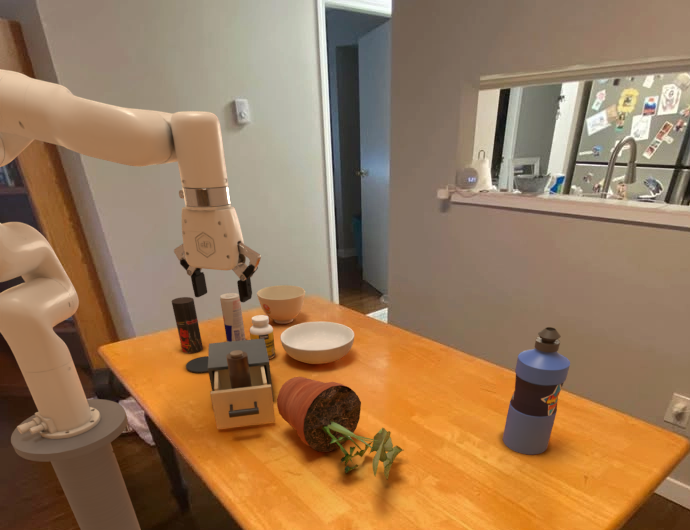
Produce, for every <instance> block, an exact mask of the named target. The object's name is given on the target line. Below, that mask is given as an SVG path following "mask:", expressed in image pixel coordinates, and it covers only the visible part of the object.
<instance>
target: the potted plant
mask: <svg viewBox="0 0 690 530" xmlns="http://www.w3.org/2000/svg"><path fill="white" fill-rule="evenodd" d="M276 407H277V410H278V414H279V415H280V417H281V418H282V419H283V420H284V421H285V422H286V423H287V424H288V425H290V426H291V427H292V428H293V429H294V430H295V431H296V434H297V436H298V438H299V439H300V441H301V442H302V443H303V444H305V445H306V446H308V447H309V448H311V449H313V450H314V451H315V452H319V453H329V452H333V451H335V450H337V449H339V448H340V450H341V452H342V454H344V456H343V457H341V459H340V464H341V463H344V466H345V467H344V473H345V474H347V473H349V472H351V471H352V470H354V469H356V468H357V467H359V465H358V463H357V464H355V465H354V466H349V465H347V464H348V463H349V461H350V462H351V463H353V460H352V459H353V458H355V457H357V456H359V457H360V458H362V457H364V455H365V453H366V452H367V451H368V449H369V448H370V451H369V453H368V455H370V454H371V453H374V452H375V454H374V456H373V458H372V462H371V464H372V465H371V466H372V472H373V476H374V477H376V476H377V472H378V468H379V463H380V462H381V463H383V469H384V470H383V474H384V476H385V478H386V480H387V481H389V475H390V471H391V469H392V466H393V464H394V461H395V459H396V458H397V456H398V455H399V454H401V452H404V449H403V448H401V447H400V446H399V445H395V446H394V443H393V441H392V437H391V431H389V430H387V429H386V428H384V427H381V429H379V430H378V431H377V433H376V434H375V435H374V436H373V438H369V437H365V436H361V435H357V434H356V433H354V432H355V431H356V429H357V427H358V425H359V421H360V417H361V411H362V410H361V408H362V401H361V400H360V397H359V395H358V394H357V393H356V391H355V390H354V389H352V388H351V387H349V386H347V385H345V384H342V383H339V382H336V381H330V382H327V381H326V382H323V381H319V380H315V379H312V378H307V377H304V376H294V377H291V378H290V379H288V380H286V381H285V382H284V383H283V384H282V385H281V387H280V389H279V392H278V394H277V398H276ZM353 438H354V439H356V440H357V441H359V442H361V443H363V444H364V449H362V448H361V447H360V446H359V444H358V443H356V442H355V440H354V439H353ZM348 441H350V442H352V443H353V444H354V445H355V446H349V452H348V451H347V449H345V448H344V446H343V445H345V444H346V443H347V442H348ZM368 442H369V443H368ZM356 447H357V449H359V450H356ZM355 450H356V452H355ZM354 452H355V453H354ZM353 453H354V454H353Z"/></svg>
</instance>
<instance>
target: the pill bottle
mask: <svg viewBox="0 0 690 530" xmlns="http://www.w3.org/2000/svg"><path fill="white" fill-rule="evenodd" d="M269 318H270V317H269V316H267V315H266V314H258V315H253V316H252V317H251V324H252V325H251V326H250V327H249V336H250V340H252V339H263V338H264V340H265V345H266V349H267V354H268V358H269V360H271V359H273V358H274V357H275V356H276V346H275V335H274V328H273V326H272V325H271V324H269V323H270V320H269Z"/></svg>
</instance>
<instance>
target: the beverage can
mask: <svg viewBox="0 0 690 530" xmlns="http://www.w3.org/2000/svg"><path fill="white" fill-rule="evenodd" d="M219 300H220V301H219V302H220V308H221V312H222V319H223V325H224V331H225V338H226V342H231V341H241V340H247V339H246V333H245V332H246V331H245V326H244V325H245V324H244V318H243V311H242V302H241V301H240V298H239V293H236V292H227V293H222V294H221V295H219Z"/></svg>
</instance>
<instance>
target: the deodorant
mask: <svg viewBox="0 0 690 530" xmlns="http://www.w3.org/2000/svg"><path fill="white" fill-rule="evenodd" d="M171 305H172V310H173V313H174V314H173V315H174V319H175V323H176V329H177V333H178V338H179V343H180V347H181V351H182V353H184V354H190V355H191V354H197V353H200V352H203V350H204V347H203V341H202V337H201V330H200V325H199V319H198V315H197V310H196V305H195V299H194V298H193V297H190V296H181V297H177V298H174V299H172V300H171Z"/></svg>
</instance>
